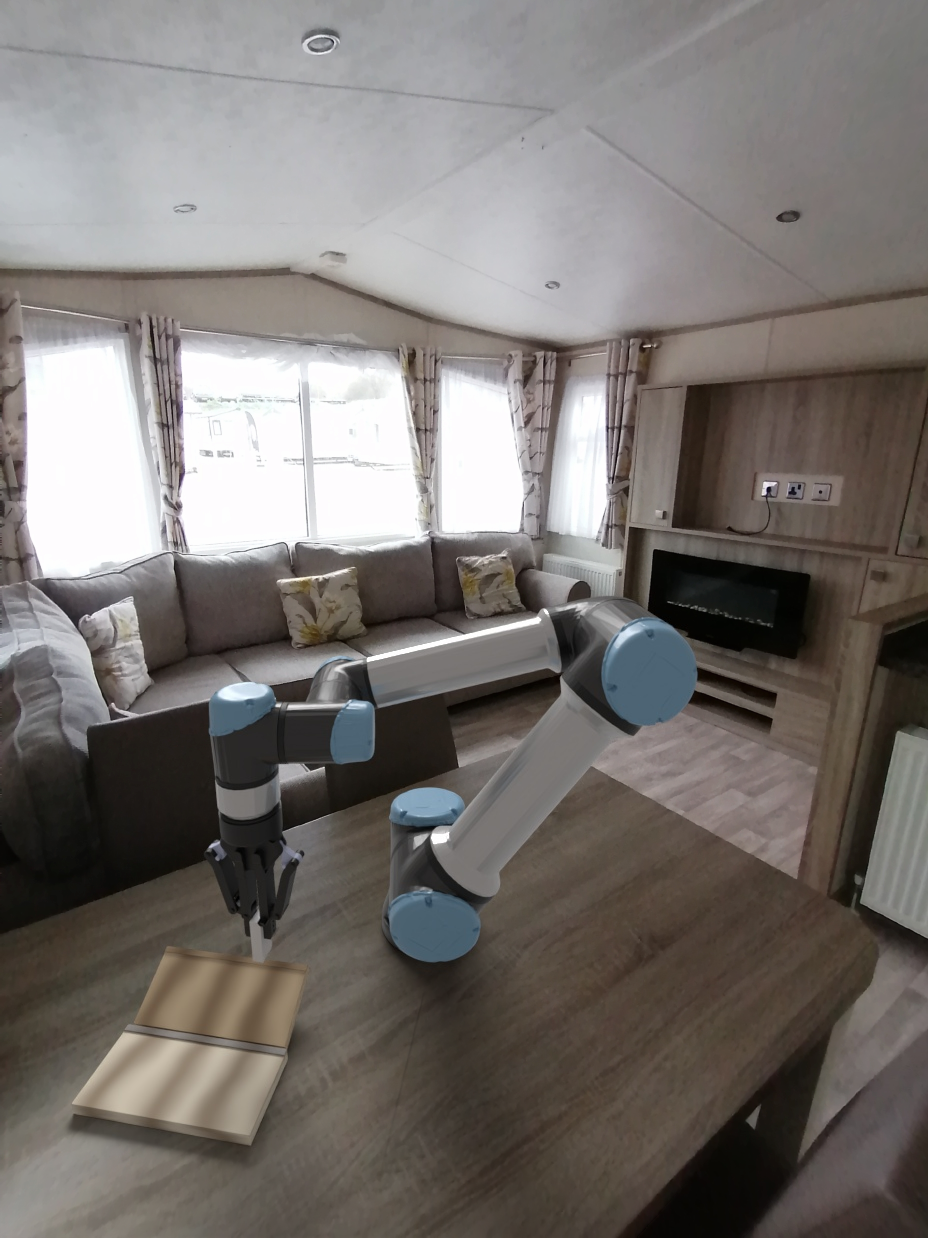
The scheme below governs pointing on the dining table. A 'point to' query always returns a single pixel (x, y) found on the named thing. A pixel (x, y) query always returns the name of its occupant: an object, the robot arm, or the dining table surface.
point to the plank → (224, 997)
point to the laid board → (184, 1084)
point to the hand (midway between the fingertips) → (262, 954)
